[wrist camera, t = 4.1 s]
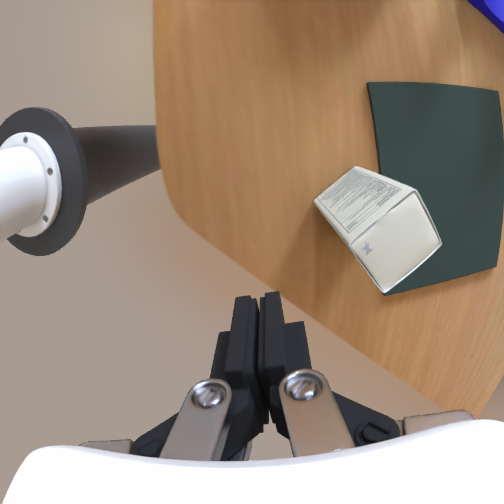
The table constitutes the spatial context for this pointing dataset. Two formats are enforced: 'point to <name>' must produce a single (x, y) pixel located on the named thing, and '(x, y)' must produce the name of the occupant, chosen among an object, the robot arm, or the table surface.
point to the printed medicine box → (380, 224)
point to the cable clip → (491, 10)
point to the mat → (445, 169)
